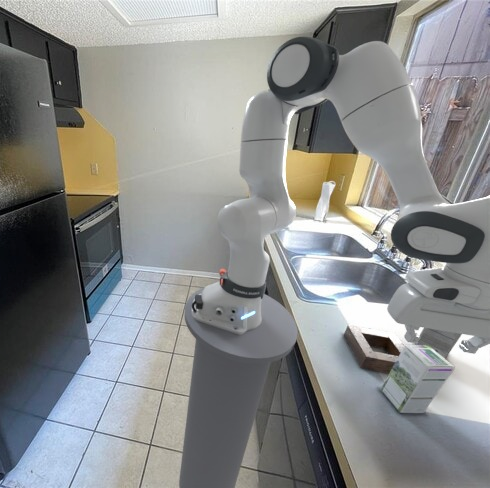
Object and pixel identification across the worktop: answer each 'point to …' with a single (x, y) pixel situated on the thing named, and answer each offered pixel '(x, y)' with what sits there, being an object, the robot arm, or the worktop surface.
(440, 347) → the coffee box
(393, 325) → the worktop surface
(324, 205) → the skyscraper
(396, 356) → the socket pad
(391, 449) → the worktop surface
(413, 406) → the syrup box
